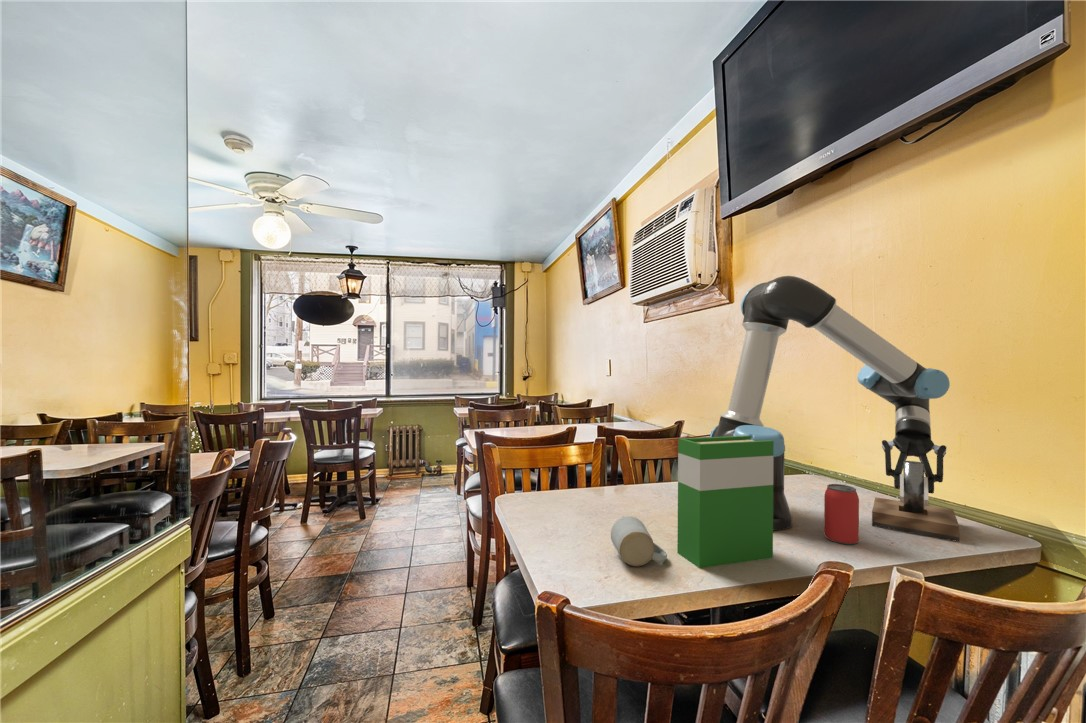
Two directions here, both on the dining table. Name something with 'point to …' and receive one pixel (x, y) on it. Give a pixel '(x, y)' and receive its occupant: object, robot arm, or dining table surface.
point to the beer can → (841, 514)
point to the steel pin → (913, 486)
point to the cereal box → (725, 500)
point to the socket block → (915, 519)
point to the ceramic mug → (635, 542)
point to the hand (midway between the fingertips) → (914, 501)
